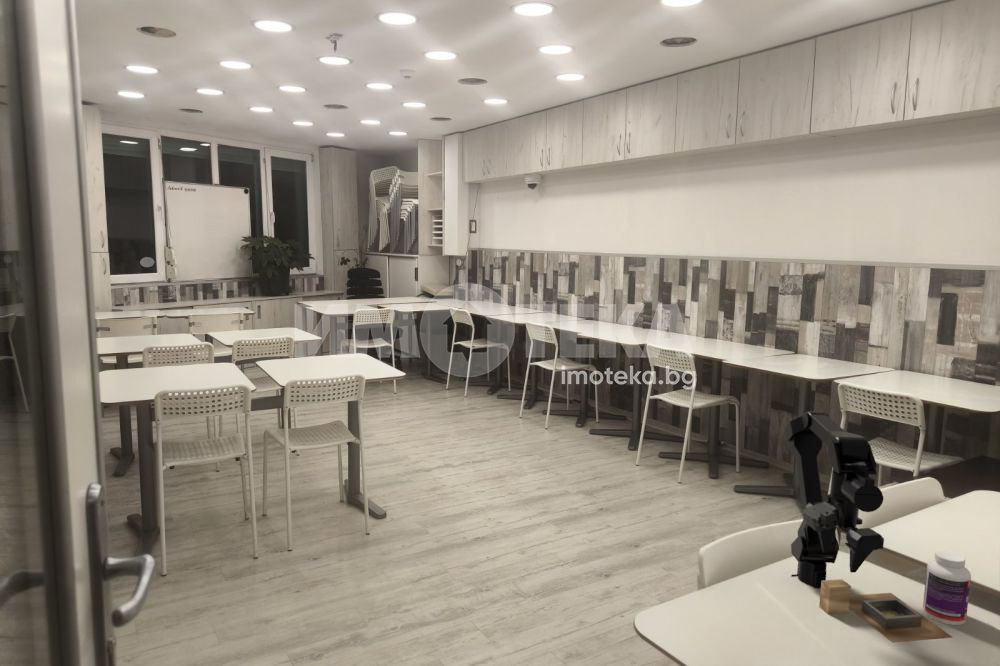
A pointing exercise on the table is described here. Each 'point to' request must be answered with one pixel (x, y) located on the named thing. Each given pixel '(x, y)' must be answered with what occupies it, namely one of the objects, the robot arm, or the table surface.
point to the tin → (891, 613)
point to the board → (902, 634)
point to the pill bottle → (947, 588)
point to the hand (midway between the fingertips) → (838, 561)
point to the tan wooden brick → (835, 596)
